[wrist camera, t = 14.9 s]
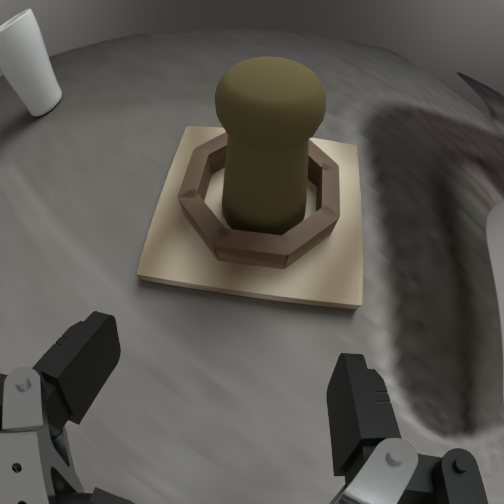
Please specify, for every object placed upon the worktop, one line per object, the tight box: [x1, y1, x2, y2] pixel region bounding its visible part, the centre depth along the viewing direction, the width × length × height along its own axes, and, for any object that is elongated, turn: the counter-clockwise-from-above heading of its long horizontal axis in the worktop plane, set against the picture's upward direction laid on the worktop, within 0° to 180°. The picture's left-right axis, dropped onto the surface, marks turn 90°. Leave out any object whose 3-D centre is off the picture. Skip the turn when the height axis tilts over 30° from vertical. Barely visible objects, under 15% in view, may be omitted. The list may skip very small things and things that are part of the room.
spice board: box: [136, 126, 363, 310], centre depth 21 cm, size 15×14×4 cm
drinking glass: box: [0, 9, 62, 117], centre depth 23 cm, size 7×7×15 cm
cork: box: [215, 57, 326, 236], centre depth 16 cm, size 6×6×11 cm
